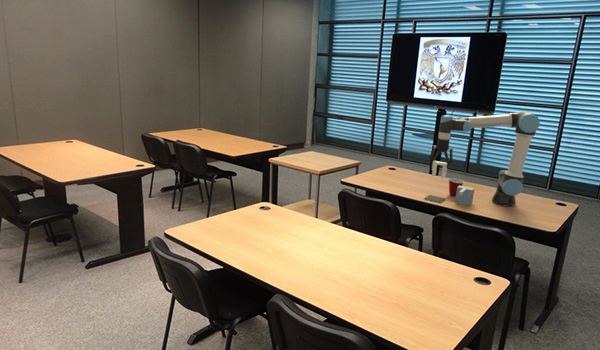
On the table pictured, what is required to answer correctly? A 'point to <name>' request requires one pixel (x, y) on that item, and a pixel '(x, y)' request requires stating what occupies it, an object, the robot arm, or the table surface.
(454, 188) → the plastic cup
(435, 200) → the rubber mat
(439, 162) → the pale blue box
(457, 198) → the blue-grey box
